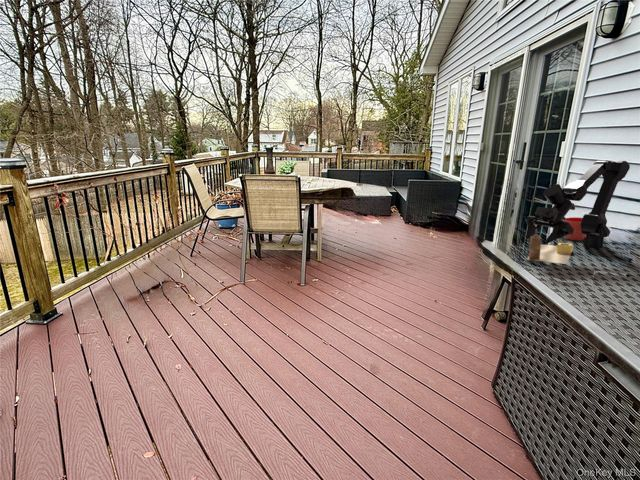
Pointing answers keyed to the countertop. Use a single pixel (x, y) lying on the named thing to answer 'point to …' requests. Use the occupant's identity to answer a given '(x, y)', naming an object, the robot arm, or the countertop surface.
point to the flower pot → (575, 228)
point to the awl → (535, 247)
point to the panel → (552, 255)
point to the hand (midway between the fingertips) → (535, 240)
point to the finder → (564, 248)
